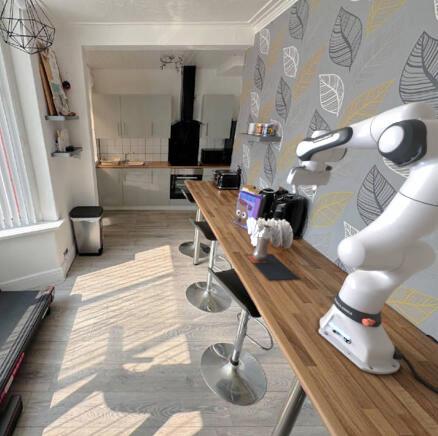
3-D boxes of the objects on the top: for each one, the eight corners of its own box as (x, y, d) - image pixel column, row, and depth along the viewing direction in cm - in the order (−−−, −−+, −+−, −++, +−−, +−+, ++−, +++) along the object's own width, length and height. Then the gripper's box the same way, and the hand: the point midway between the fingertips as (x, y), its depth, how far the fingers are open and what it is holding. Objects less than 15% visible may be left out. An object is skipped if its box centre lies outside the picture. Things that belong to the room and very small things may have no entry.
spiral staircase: (288, 256, 140) (246, 251, 141) (279, 233, 152) (241, 228, 152) (305, 238, 127) (259, 233, 127) (295, 214, 138) (252, 209, 139)
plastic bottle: (266, 264, 123) (276, 230, 115) (252, 262, 124) (261, 228, 117) (263, 257, 129) (272, 224, 121) (250, 255, 130) (258, 223, 122)
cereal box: (233, 222, 174) (239, 191, 164) (237, 221, 176) (244, 190, 166) (252, 232, 160) (260, 198, 150) (257, 231, 162) (265, 198, 152)
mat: (299, 279, 114) (299, 278, 113) (268, 280, 112) (269, 279, 111) (272, 254, 134) (272, 253, 133) (245, 255, 132) (245, 254, 131)
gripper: (297, 166, 108) (288, 195, 113) (336, 167, 111) (326, 195, 116) (288, 163, 114) (280, 191, 119) (325, 164, 116) (316, 191, 122)
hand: (303, 193), depth 118 cm, fingers open, 8 cm apart
